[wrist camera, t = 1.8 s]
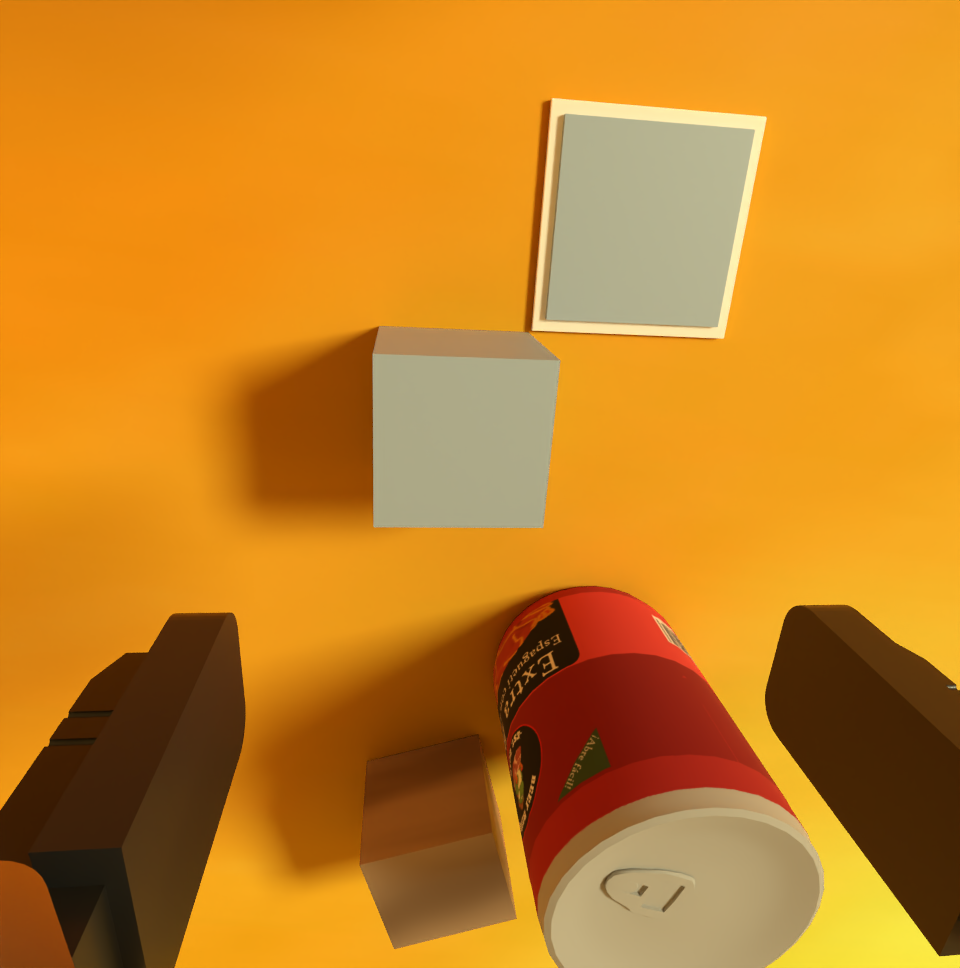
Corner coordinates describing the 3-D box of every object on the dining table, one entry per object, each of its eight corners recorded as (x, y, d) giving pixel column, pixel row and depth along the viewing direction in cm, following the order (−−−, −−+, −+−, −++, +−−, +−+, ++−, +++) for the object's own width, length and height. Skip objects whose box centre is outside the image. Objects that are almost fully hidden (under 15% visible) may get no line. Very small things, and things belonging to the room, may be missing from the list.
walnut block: (367, 760, 28) (359, 865, 24) (477, 733, 28) (492, 832, 24) (395, 838, 30) (394, 949, 26) (499, 812, 30) (516, 918, 26)
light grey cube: (379, 325, 21) (372, 353, 17) (527, 331, 22) (560, 360, 17) (379, 466, 23) (373, 527, 19) (516, 468, 24) (542, 527, 19)
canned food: (512, 567, 25) (584, 798, 15) (697, 592, 27) (877, 819, 17) (472, 721, 28) (510, 1005, 18) (642, 736, 29) (768, 1007, 19)
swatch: (550, 99, 19) (553, 97, 19) (763, 117, 20) (770, 116, 20) (531, 329, 22) (533, 331, 21) (721, 337, 23) (726, 339, 22)
